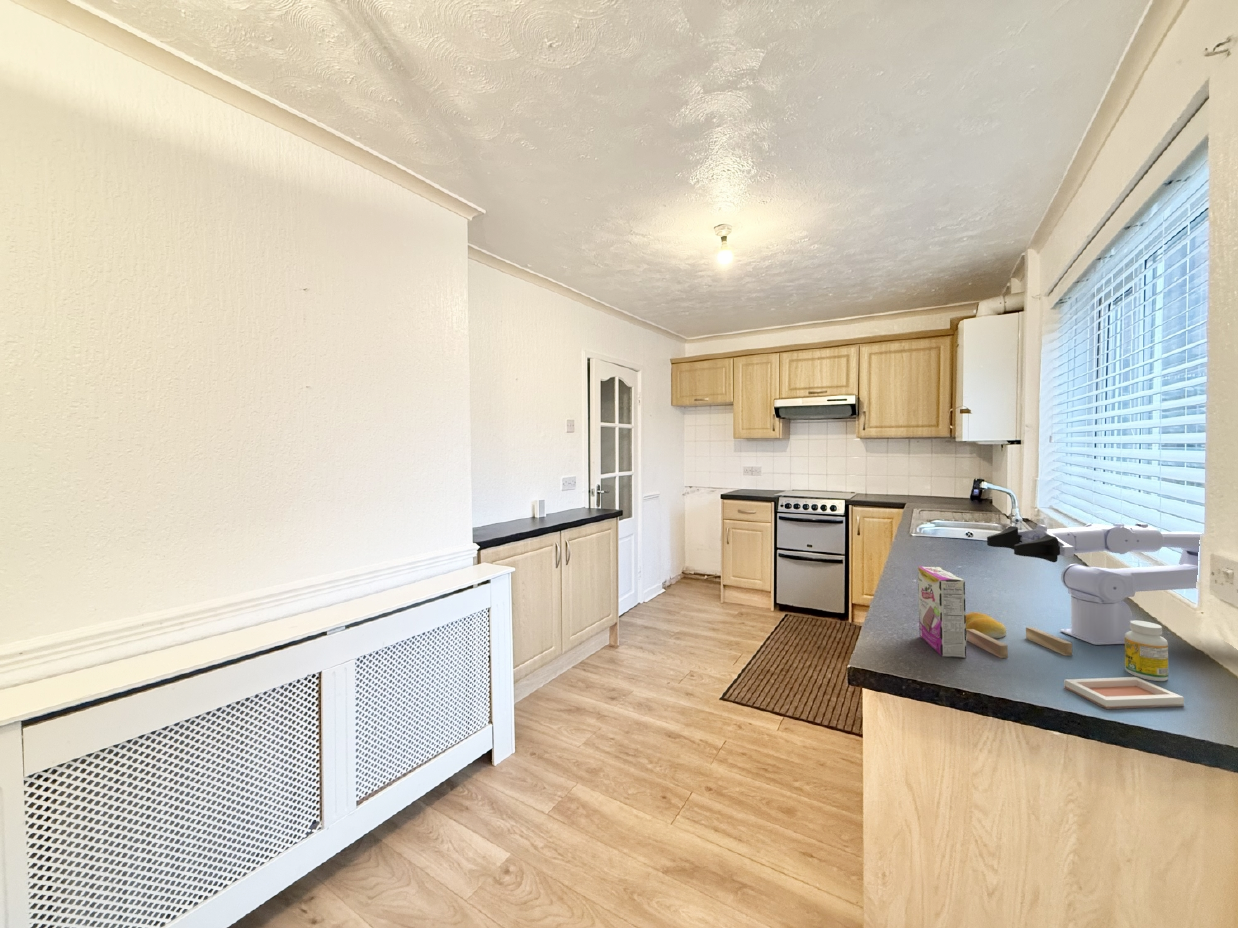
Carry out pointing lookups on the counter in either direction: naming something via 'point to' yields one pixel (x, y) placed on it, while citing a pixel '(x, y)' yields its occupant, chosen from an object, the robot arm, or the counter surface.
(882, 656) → the counter surface
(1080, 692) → the tray
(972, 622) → the bread roll
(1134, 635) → the supplement bottle
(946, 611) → the candy bar box
